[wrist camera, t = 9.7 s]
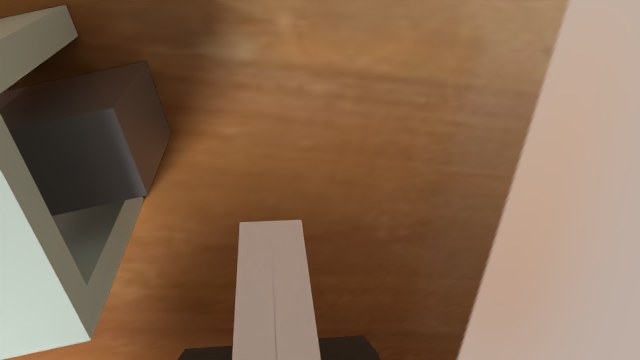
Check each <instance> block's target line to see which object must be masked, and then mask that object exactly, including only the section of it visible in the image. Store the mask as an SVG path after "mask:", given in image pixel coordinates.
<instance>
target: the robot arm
mask: <svg viewBox="0 0 640 360" xmlns="http://www.w3.org/2000/svg"><path fill="white" fill-rule="evenodd" d="M178 360H380V358H379V354H378V353H377V352H376V351H375V349H374V348H373V347H372V346H371V345H370V343H369V342H368V341H367V340H366V338H365V337H364V336H352V337H337V338H321V339H318V336H317V328H316V321H315V314H314V307H313V300H312V293H311V285H310V278H309V271H308V264H307V257H306V249H305V242H304V235H303V228H302V221H301V220H283V221H260V222H240V227H239V245H238V263H237V281H236V299H235V317H234V335H233V346H224V347H208V348H193V349H185V350H184V352H183V353H182V354H181V356H180V357H179V359H178Z"/></svg>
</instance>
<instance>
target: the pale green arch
mask: <svg viewBox="0 0 640 360" xmlns="http://www.w3.org/2000/svg"><path fill="white" fill-rule="evenodd" d="M76 37H78V34H77V31H76V29H75V26H74V24H73V21H72V19H71V16H70V14H69V11H68V9H67V6H66V5H62V6H57V7H53V8H48V9H43V10H39V11H34V12H29V13H24V14H20V15H15V16H10V17H6V18H1V19H0V93H2V92H3V91H4V90H6V89H7V88H9V87H10V86H11V85H13V84H14V83H15V82H17V81H18V80H19V79H21V78H22V77H23V76H25V75H26V74H28V73H29V72H30V71H32V70H33V69H34V68H36V67H37V66H38V65H40V64H41V63H42V62H44V61H45V60H47V59H48V58H49V57H51V56H52V55H53V54H55V53H56V52H57V51H59V50H60V49H61V48H63V47H64V46H66V45H67V44H68V43H70V42H71V41H72V40H74V39H75V38H76ZM143 203H144V200H143V197H138V198H133V199H129V200H124V201H120V202H115V203H110V204H106V205H101V206H96V207H92V208H87V209H82V210H78V211H73V212H69V213H64V214H59V215H55V216H51V214H50V212H49V210H48V208H47V206H46V204H45V202H44V200H43V198H42V196H41V194H40V192H39V190H38V188H37V186H36V184H35V182H34V180H33V178H32V176H31V174H30V172H29V170H28V168H27V166H26V164H25V162H24V160H23V158H22V156H21V154H20V152H19V150H18V148H17V146H16V144H15V142H14V140H13V138H12V136H11V134H10V132H9V130H8V128H7V126H6V124H5V122H4V120H3V118H2V116H1V114H0V360H2V359H7V358H11V357H16V356H21V355H25V354H30V353H35V352H39V351H44V350H48V349H53V348H58V347H62V346H67V345H72V344H76V343H81V342H85V341H90V340H91V339H92V336H93V333H94V331H95V328H96V326H97V323H98V320H99V318H100V315H101V313H102V310H103V307H104V305H105V302H106V299H107V297H108V294H109V292H110V289H111V286H112V284H113V281H114V279H115V276H116V273H117V271H118V268H119V265H120V263H121V260H122V258H123V255H124V252H125V250H126V247H127V245H128V242H129V239H130V237H131V234H132V231H133V229H134V226H135V224H136V221H137V218H138V216H139V213H140V211H141V208H142V205H143Z"/></svg>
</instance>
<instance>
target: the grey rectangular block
mask: <svg viewBox="0 0 640 360" xmlns="http://www.w3.org/2000/svg"><path fill="white" fill-rule="evenodd" d="M0 114H1V116H2V118H3V120H4V122H5V124H6V126H7V128H8V130H9V132H10V134H11V136H12V138H13V140H14V142H15V144H16V146H17V148H18V150H19V152H20V154H21V156H22V158H23V160H24V162H25V164H26V166H27V168H28V170H29V172H30V174H31V176H32V178H33V180H34V182H35V184H36V186H37V188H38V190H39V192H40V194H41V196H42V198H43V200H44V202H45V204H46V206H47V208H48V210H49V212H50V214H51V216H55V215H59V214H64V213H69V212H73V211H78V210H82V209H87V208H92V207H96V206H101V205H106V204H110V203H115V202H120V201H124V200H129V199H133V198H138V197H143V196H147V195H148V193H149V190H150V188H151V185H152V182H153V180H154V177H155V175H156V172H157V169H158V167H159V164H160V161H161V159H162V156H163V153H164V151H165V148H166V145H167V143H168V140H169V137H170V135H171V131H170V128H169V125H168V122H167V119H166V116H165V113H164V110H163V108H162V105H161V102H160V99H159V96H158V93H157V90H156V87H155V85H154V82H153V79H152V76H151V73H150V70H149V67H148V64H147V62H146V61H143V62H139V63H134V64H129V65H125V66H120V67H115V68H111V69H106V70H101V71H97V72H92V73H87V74H83V75H78V76H73V77H69V78H64V79H59V80H55V81H50V82H46V83H41V84H36V85H32V86H27V87H22V88H18V89H13V90H8V91H4V92H2V93H0Z"/></svg>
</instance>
